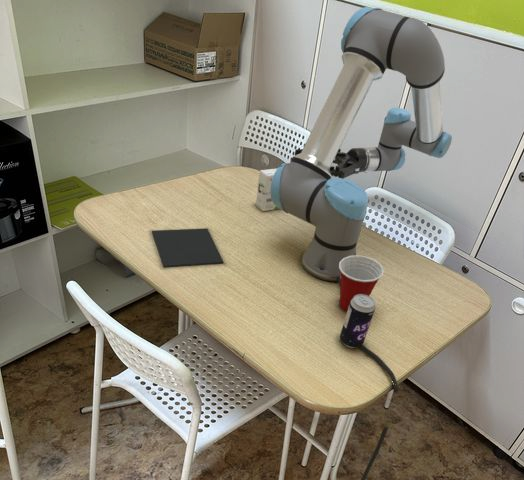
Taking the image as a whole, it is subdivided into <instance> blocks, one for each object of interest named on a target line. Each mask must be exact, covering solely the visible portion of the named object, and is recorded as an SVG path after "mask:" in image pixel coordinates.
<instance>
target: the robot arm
mask: <svg viewBox="0 0 524 480" xmlns="http://www.w3.org/2000/svg"><path fill="white" fill-rule="evenodd" d="M340 49H341V52H342V55H341V61H342V64H343V66H342V68H341V70H340V72H339V75H338V76H337V78H336V80H335V83H334V84H333V86H332V88H331V91H330V93H329V95H328V96H327V99H326V100H325V103H324V105H323V107H322V109H321V111H320V113H319V115H318V117H317V119H316V121H315V123H314V125H313V127H312V129H311V131H310V134H309V135H308V138H307V140H306V142H305V144H304V146H303V147H302V148H299V149H298V148H297V149H294V151H295V152H294V155H293V156H292V158H291V159H290V161H289V162H285V163H281V164H280V165H279V166H278V167H277V168H276V169H277V170H276V172H275V174H274V176H273V179H272V182H271V190H270V192H271V199H272V202H273V203H274V205H275V206H276V207H278V208H280V210H281V211H283V212H284V213H285V214H289V215H291V216H293V217H296V218H297V219H299V220H302V221H304V222H306V223H308V224H311V225H312V226H314V227H315V230H314V233H313V237H312V239H311V241H310V242H309V244H308V246H307V248H306V249H305V250H304V252H303V254H302V258H301V266H302V268H303V269H304V270H305V271H306V272H307V273H308V274H309V275H311V276H313V277H315V279H316V278H317V279H319V280H321V281H326V282H332V283H338V285H339V288H340V287H341V271H340V269H339V262H340V261H341V260H342V259H343V258H345V257H348V256H354V255H357V245H358V241H359V237H360V235H361V231H362V227H363V224H364V222H365V218H366V216H367V211H368V205H369V196H368V193H367V192H366V190H365V189H364V188H363V187H362V186H361V185H359V184H358V183H356V182H354V181H353V180H350V179H347V178H348V177H350V176H353V175H356V174H359V173H366V174H367V173H368V172H391V171H397V170H400V169H402V168H403V166H404V164H405V163H406V152H405V150H404V148H403V146H404V147H407V148H409V149H412V150H414V151H417V152H420V153H421V154H425V155H428V156H429V157H434V158H437V159H442V158H444V156H446V154H447V153H448V151H449V149H450V147H451V144H452V140H453V137H452V135H451V134H450V133H448V132H447V131H443V130H444V129H443V103H442V79H443V77H444V74H445V71H446V70H445V69H446V64H445V57H444V52H443V50H442V47H441V44H440V42H439V40H438V38H437V37H436V35H435V33H434V31H432V29H431V28H430V27H429V26H428V25H427V24H426V23H425V22H423V21H422V20H420V19H419V18H415V17H411V16H406V15H402V14H399V13H395V12H391V11H387V10H384V9H383V8H380V7H370V6H363V7H362V8H359V9H358V10H356V11H354V13H353V14H352V15H351V16H350V18H349V19H348V20H347V23H346V25H345V27H344V29H343V32H342V38H341V40H340ZM386 70H391V71H394V72H398V73H400V74H402V75H403V76H404V77H405V81H406V83H407V84H408V85H409V87H410V90H411V97H412V106H413V113H414V120H411V119H412V112H411V111H409V110H407V109H405V108H402V107H392V108H390V109H388V111H387V113H386V116H385V120H384V121H383V126H382V129H381V133H380V136H379V142H378V144H377V146H376V147H375V146H372V147H371V146H370V147H352V148H350V149H349V150H348V151H347V152H344V151H342V149H341V146H342V144H343V142H344V140H345V139H346V136H347V134H348V132H349V130H350V128H351V127H352V124H353V122H354V120H355V119H356V117H357V114H358V112H359V110H360V109H361V108H362V107H361V106H362V104H363V102H364V101H365V98H366V96H367V95H368V93H369V90H370V88H371V87H372V84H373V83H374V82H375V81H379V80H381V79H382V78H383V76H384V74H385V72H386ZM332 164H336V165H335V166H334V165H333V166H332ZM358 348H359V349H361V351H363V352H364V353H365V354H367V355H368V356H370V357H371V358H373V360H375V361H376V362H377V363H378V364H379V365H380V366H381V368H382V369H383V370H384V371H385V372H386V371H387V372H386V373H387V374H388V376H389V378H390V381H391V380H392V381H393V383H394V385H393V383H392V381H391V384H392V390H393V392H394V393H395V394H398V393H399V388H398V387H399V386H398V381H397V378H396V376H395V374H394V373H393V371H392V370H391V368H390V367H389V366H388V365H387V364H386V363H385V362H384V360H382V358H381V357H379V356H378V355H377V354H376V353H375V352H374V351H372V350H371V349H369V348H368V347H366V346H365V345H364V344H363V345H361V346H360V347H358ZM395 384H396V385H395ZM388 430H389V427H384V428H382V431H381V434H380V437H379V439H378V441H377V443H376V446H375V448H374V451H373V453H372V455H371V457H370V459H369V461H368V463H367V466H366V467H365V470H364V471H363V474H362V476H361V479H360V480H366V479H367V476H368V475H369V473H370V470H371V468H372V467H373V464H374V462H375V460H376V458H377V456H378V454H379V452H380V449H381V447H382V445H383V443H384V441H385V438H386V435H387V432H388Z"/></svg>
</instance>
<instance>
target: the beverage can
mask: <svg viewBox="0 0 524 480" xmlns="http://www.w3.org/2000/svg"><path fill="white" fill-rule="evenodd" d="M375 311H376V301H375V300H374V298H373V297H371V295H370V296H367V295H364V294H358V295H355V296H354V297H353V299H352V300H351V301H350V304H349V307H348V311H346V315H345V318H344V321H343V324H342V328H341V330H340V334H339V340H340V341H341V342H342V344H343V345H344V346H345V347H347V348H351V349H356V348H359V347H360V346H361V345H364V342H365V340H366V337H367V334H368V331H369V329H370V326H371V324H372V319H373V316H374V315H375Z"/></svg>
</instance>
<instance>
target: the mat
mask: <svg viewBox="0 0 524 480" xmlns="http://www.w3.org/2000/svg"><path fill="white" fill-rule="evenodd" d="M151 234H152V237H153V239H154V243H155V246H156V248H157V251H158V254H159V257H160V261H161V263H162V266H163V268H176V267H189V266H190V267H191V266H203V265H205V266H206V265H222V264H225V263H224V259H223V258H222V256H221V254H220V252H219V249H218V248H217V246H216V243H215V241H214V239H213V238H212V235H211V233H210V231H209V229H208V228H207V227H206V228H184V229H183V228H182V229H159V230H156V229H155V230H151Z"/></svg>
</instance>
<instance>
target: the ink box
mask: <svg viewBox="0 0 524 480" xmlns="http://www.w3.org/2000/svg"><path fill="white" fill-rule="evenodd" d="M276 170H277V168H270V169H269V168H268V169H260V170H259V177H258V183H257V191H256V198H255V206H256V207H257V208H258V209H259V210H260V211H262V212H266V211H273V210H279V209H280V208H278V207H276V206H275V205H274V203H273V202H272V199H271V192H270V190H271V182H272V179H273V176H274V174H275V172H276ZM280 210H281V209H280Z"/></svg>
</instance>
